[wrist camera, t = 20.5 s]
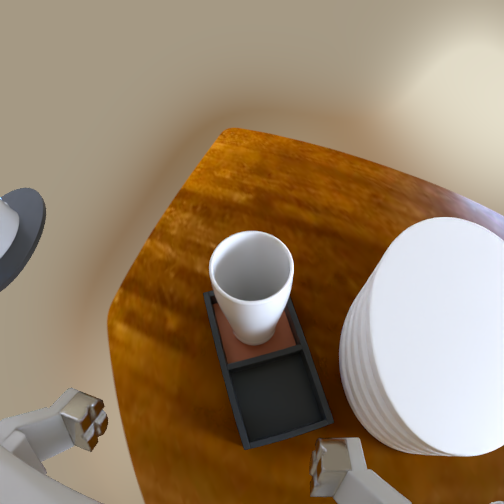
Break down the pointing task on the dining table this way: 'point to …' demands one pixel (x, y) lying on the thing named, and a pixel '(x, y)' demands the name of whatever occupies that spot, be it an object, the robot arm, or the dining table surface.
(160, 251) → the dining table surface
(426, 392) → the plate stack
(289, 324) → the socket pad
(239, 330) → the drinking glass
